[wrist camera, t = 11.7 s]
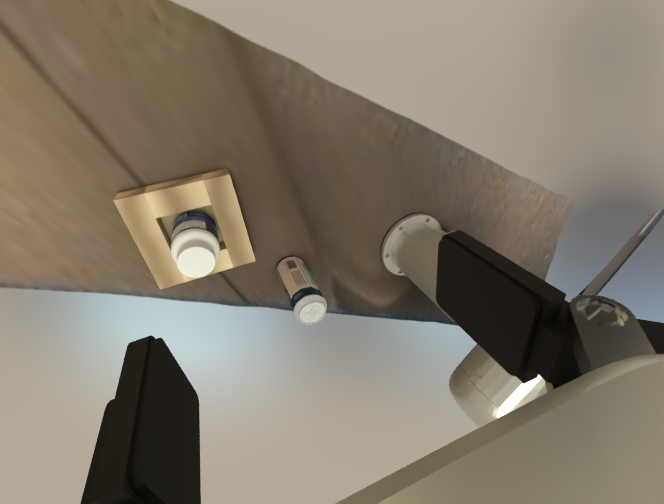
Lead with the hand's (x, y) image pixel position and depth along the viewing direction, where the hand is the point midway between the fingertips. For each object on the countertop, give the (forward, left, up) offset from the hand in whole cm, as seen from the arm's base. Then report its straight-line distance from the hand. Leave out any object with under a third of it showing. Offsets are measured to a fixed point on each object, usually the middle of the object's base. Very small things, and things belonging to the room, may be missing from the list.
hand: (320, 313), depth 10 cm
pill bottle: (+7, +11, -35) cm, 38 cm away
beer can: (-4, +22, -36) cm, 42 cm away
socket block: (+7, +11, -36) cm, 38 cm away
